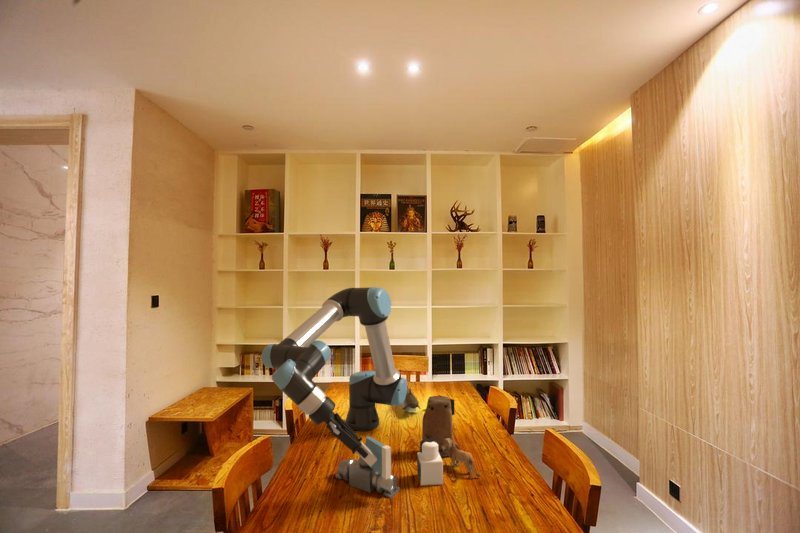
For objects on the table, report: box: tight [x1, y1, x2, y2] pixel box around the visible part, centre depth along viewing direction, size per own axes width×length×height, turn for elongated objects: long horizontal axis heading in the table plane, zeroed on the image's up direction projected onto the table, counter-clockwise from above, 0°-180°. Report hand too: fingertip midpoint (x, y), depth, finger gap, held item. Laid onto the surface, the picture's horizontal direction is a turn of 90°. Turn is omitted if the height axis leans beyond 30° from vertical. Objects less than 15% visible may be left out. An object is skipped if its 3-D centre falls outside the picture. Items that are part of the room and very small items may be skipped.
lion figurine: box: [441, 438, 481, 479], centre depth 122 cm, size 15×5×9 cm, turn 45°
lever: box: [359, 436, 392, 479], centre depth 111 cm, size 14×4×8 cm, turn 36°
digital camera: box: [438, 395, 456, 416], centre depth 180 cm, size 10×5×7 cm, turn 38°
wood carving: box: [401, 385, 421, 412], centre depth 187 cm, size 9×35×11 cm, turn 11°
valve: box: [334, 458, 401, 499], centre depth 114 cm, size 22×7×7 cm, turn 57°
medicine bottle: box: [416, 438, 444, 487], centre depth 117 cm, size 7×7×12 cm
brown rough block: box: [421, 395, 454, 458], centre depth 135 cm, size 11×8×20 cm
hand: (373, 461), depth 107 cm, fingers closed
